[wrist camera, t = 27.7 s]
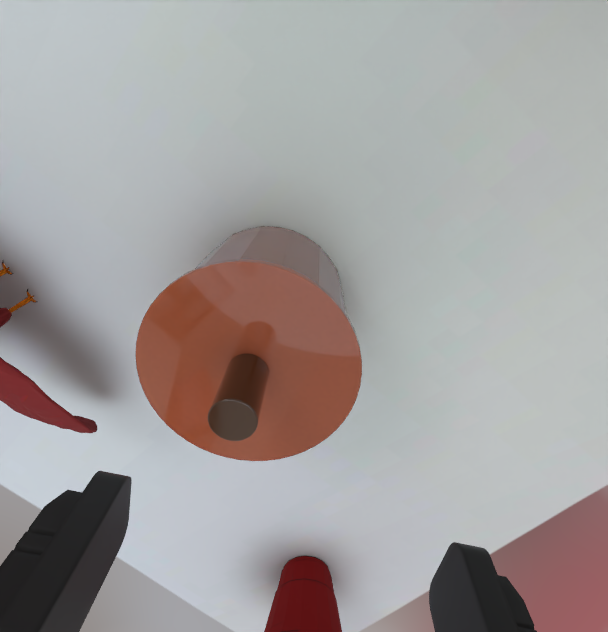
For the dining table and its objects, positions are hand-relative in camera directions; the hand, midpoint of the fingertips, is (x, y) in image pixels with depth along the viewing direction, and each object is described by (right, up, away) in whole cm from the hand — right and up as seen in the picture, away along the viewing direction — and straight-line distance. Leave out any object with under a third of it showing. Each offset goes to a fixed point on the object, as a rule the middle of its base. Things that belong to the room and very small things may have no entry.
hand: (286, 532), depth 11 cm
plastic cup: (+1, -26, +42) cm, 49 cm away
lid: (-3, +2, +16) cm, 17 cm away
